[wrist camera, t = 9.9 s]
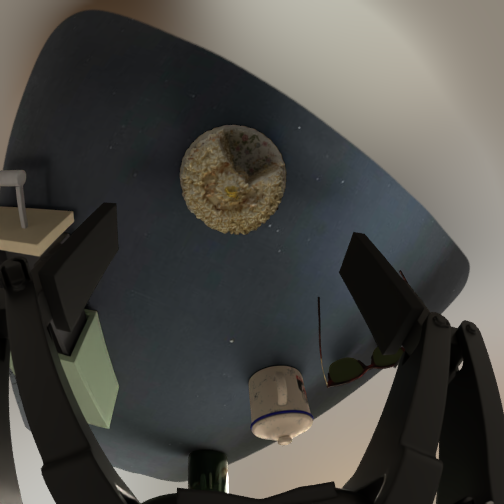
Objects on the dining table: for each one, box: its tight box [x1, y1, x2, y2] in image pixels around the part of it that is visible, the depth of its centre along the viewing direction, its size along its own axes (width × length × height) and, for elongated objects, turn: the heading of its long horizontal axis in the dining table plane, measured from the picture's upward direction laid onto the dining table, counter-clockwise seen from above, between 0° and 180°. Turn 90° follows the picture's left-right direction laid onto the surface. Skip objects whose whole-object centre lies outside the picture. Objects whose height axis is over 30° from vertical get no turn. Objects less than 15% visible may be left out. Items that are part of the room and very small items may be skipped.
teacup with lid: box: [249, 366, 313, 445], centre depth 36 cm, size 12×9×12 cm
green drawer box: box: [9, 309, 119, 429], centre depth 32 cm, size 19×15×9 cm
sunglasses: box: [318, 270, 408, 388], centre depth 35 cm, size 14×15×5 cm
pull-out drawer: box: [0, 170, 87, 357], centre depth 23 cm, size 23×13×7 cm, turn 170°
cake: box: [180, 125, 286, 235], centre depth 24 cm, size 10×10×5 cm
